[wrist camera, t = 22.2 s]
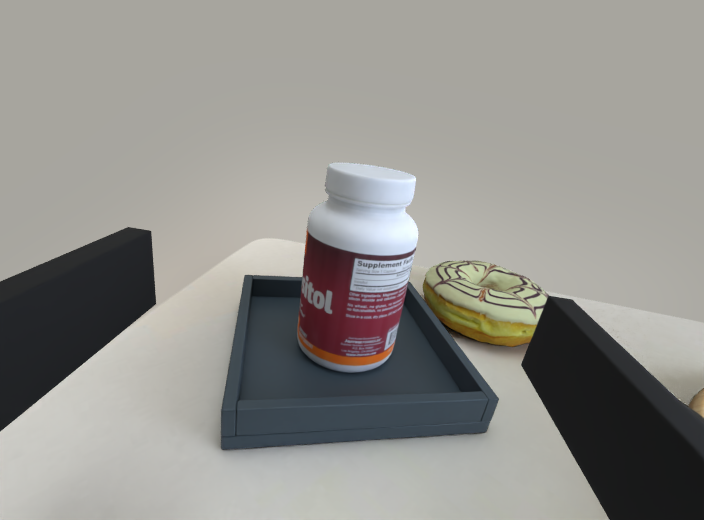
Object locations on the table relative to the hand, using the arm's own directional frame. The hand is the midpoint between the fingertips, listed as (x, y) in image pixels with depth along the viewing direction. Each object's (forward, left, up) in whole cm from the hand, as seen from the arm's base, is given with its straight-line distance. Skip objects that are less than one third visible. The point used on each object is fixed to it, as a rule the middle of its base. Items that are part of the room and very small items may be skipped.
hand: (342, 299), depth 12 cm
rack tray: (+3, +8, -9) cm, 12 cm away
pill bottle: (+3, +8, -8) cm, 12 cm away
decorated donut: (+16, +13, -9) cm, 22 cm away
